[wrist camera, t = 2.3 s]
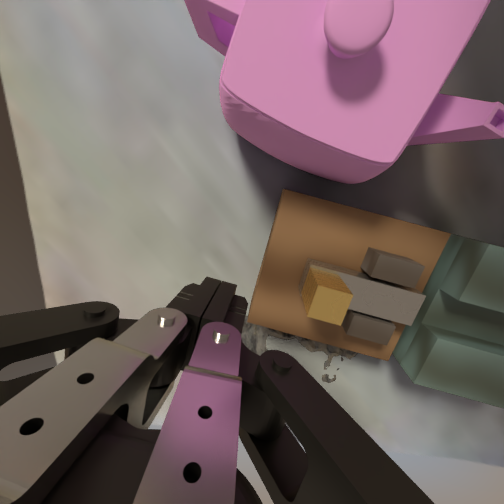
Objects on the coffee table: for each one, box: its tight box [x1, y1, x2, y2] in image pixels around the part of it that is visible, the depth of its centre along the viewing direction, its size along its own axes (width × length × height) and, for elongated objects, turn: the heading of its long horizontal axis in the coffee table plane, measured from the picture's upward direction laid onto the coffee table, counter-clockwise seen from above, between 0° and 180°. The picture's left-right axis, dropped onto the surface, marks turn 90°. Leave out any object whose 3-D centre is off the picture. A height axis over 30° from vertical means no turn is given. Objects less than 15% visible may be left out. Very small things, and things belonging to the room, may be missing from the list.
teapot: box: [184, 0, 504, 184], centre depth 14 cm, size 18×10×10 cm, turn 65°
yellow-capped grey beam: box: [298, 258, 426, 326], centre depth 16 cm, size 2×8×5 cm, turn 76°
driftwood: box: [241, 316, 357, 383], centre depth 25 cm, size 21×7×2 cm, turn 76°
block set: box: [247, 189, 504, 408], centre depth 19 cm, size 11×21×6 cm, turn 75°
